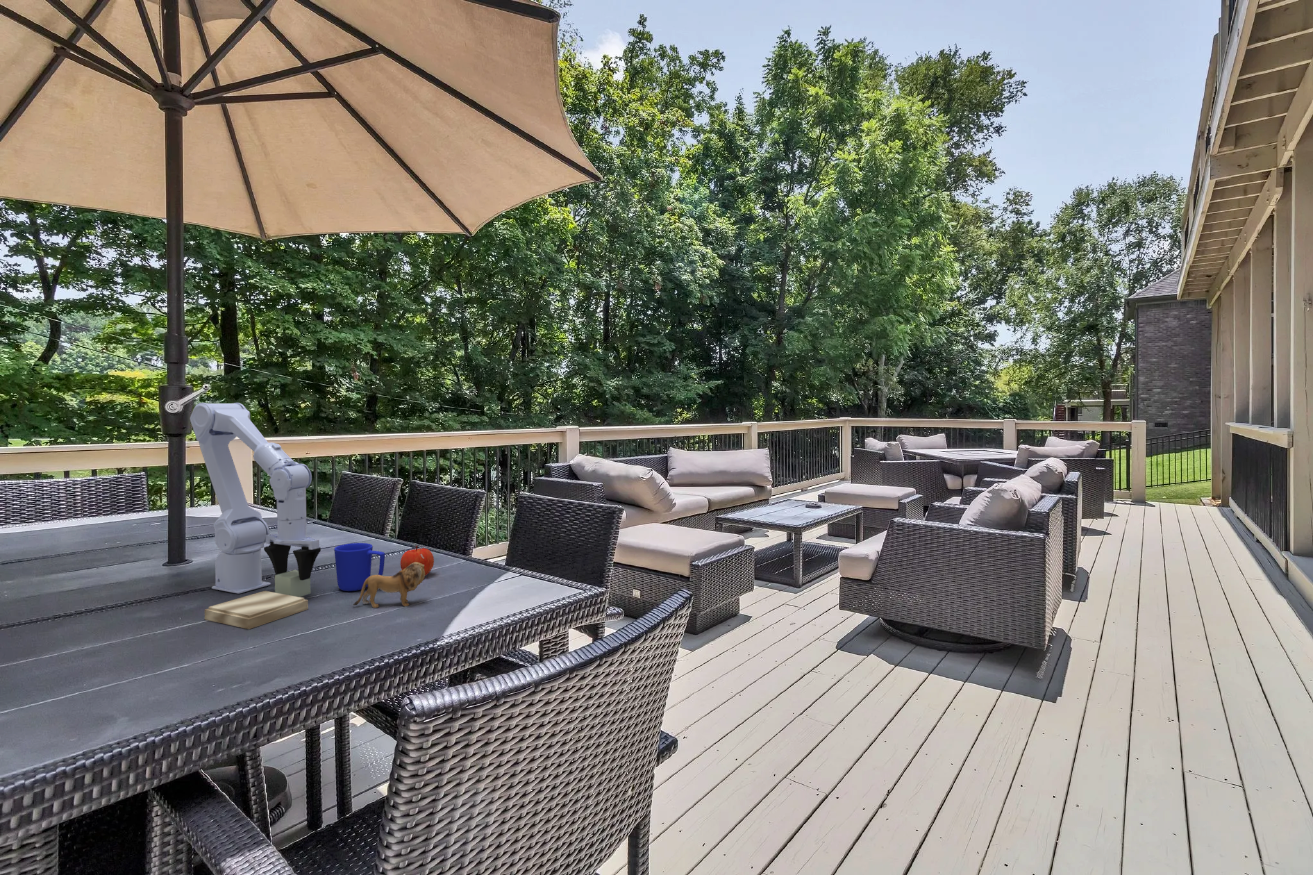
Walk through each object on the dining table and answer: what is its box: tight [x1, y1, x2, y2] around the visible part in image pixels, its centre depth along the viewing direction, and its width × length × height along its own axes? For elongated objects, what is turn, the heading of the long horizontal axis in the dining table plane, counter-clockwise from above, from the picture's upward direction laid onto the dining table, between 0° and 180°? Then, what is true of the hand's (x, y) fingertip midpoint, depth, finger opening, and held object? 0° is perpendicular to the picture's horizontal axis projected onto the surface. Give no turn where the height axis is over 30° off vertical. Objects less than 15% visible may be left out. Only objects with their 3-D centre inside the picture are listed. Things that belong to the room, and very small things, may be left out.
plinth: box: [204, 590, 309, 630], centre depth 131 cm, size 13×13×2 cm
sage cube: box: [274, 569, 311, 598], centre depth 144 cm, size 5×5×5 cm
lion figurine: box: [352, 562, 426, 609], centre depth 139 cm, size 15×5×9 cm, turn 111°
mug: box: [333, 542, 386, 592], centre depth 149 cm, size 8×12×10 cm
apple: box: [399, 545, 435, 577], centre depth 161 cm, size 8×8×8 cm
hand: (293, 577), depth 144 cm, fingers open, 7 cm apart
